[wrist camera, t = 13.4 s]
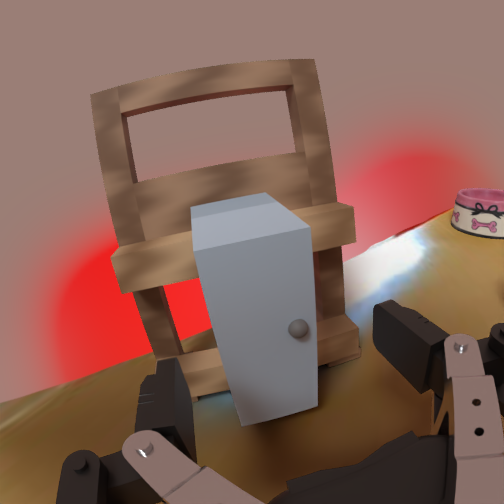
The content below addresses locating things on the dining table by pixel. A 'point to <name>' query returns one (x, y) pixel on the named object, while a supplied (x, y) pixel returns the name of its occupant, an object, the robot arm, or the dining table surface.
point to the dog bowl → (480, 212)
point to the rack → (217, 189)
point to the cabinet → (260, 302)
